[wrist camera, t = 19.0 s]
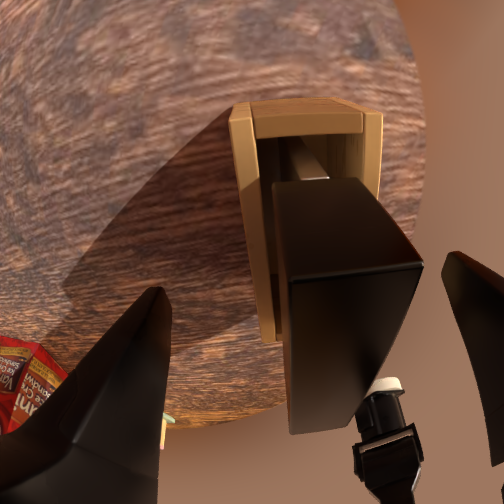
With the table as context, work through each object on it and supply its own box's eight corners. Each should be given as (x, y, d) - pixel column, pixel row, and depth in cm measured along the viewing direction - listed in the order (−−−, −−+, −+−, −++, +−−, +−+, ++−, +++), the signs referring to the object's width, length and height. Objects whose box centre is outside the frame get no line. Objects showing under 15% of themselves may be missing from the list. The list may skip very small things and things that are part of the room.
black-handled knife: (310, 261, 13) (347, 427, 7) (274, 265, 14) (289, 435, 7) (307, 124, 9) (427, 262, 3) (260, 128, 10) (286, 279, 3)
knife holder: (333, 271, 14) (354, 331, 11) (258, 280, 14) (262, 343, 11) (337, 97, 9) (384, 112, 6) (233, 103, 9) (227, 120, 6)
